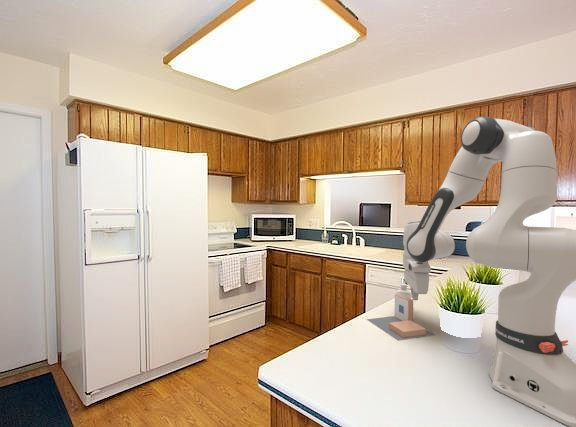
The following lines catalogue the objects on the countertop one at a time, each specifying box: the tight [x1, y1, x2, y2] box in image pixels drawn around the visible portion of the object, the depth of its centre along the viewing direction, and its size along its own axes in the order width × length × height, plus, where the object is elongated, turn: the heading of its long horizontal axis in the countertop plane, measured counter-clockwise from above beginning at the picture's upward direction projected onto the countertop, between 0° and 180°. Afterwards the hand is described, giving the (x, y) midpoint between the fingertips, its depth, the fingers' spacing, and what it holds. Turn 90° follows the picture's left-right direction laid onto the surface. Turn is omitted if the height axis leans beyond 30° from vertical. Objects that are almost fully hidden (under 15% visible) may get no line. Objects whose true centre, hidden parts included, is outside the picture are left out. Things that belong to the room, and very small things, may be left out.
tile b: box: [394, 293, 414, 322], centre depth 115 cm, size 8×2×9 cm, turn 17°
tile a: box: [389, 320, 427, 338], centre depth 104 cm, size 8×2×9 cm
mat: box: [366, 315, 436, 342], centre depth 109 cm, size 19×15×1 cm
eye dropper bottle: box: [396, 280, 412, 299], centre depth 128 cm, size 4×6×12 cm
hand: (414, 299), depth 116 cm, fingers closed
